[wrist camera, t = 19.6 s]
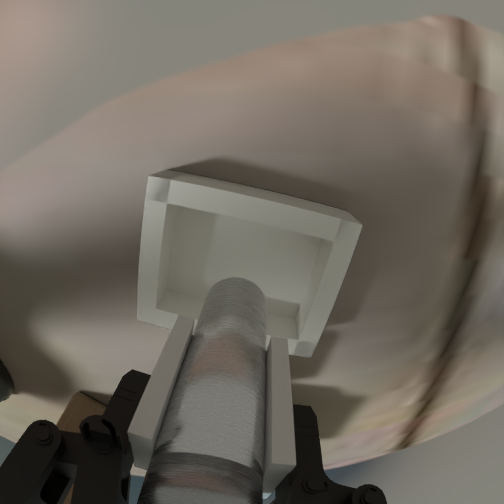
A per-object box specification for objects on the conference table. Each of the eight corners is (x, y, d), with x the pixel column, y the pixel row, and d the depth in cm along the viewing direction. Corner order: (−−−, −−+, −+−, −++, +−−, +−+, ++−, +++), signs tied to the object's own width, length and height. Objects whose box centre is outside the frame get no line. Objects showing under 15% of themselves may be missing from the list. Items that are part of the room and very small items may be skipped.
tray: (152, 296, 26) (136, 319, 22) (167, 169, 22) (148, 175, 18) (305, 330, 27) (311, 357, 23) (347, 211, 22) (362, 225, 19)
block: (139, 419, 34) (97, 538, 15) (129, 444, 37) (96, 541, 18) (76, 387, 32) (16, 494, 14) (75, 417, 36) (30, 507, 17)
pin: (202, 321, 18) (139, 524, 6) (211, 270, 17) (127, 498, 4) (258, 334, 18) (245, 544, 6) (273, 285, 17) (277, 525, 5)
